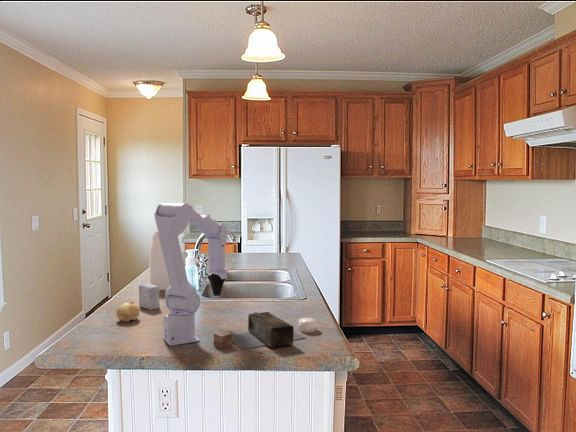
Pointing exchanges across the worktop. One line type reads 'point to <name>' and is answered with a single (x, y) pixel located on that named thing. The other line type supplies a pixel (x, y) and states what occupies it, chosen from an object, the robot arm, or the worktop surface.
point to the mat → (254, 340)
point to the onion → (127, 312)
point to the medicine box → (149, 296)
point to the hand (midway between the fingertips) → (216, 295)
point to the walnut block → (222, 339)
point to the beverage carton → (270, 329)
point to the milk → (157, 265)
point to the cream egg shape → (307, 325)
